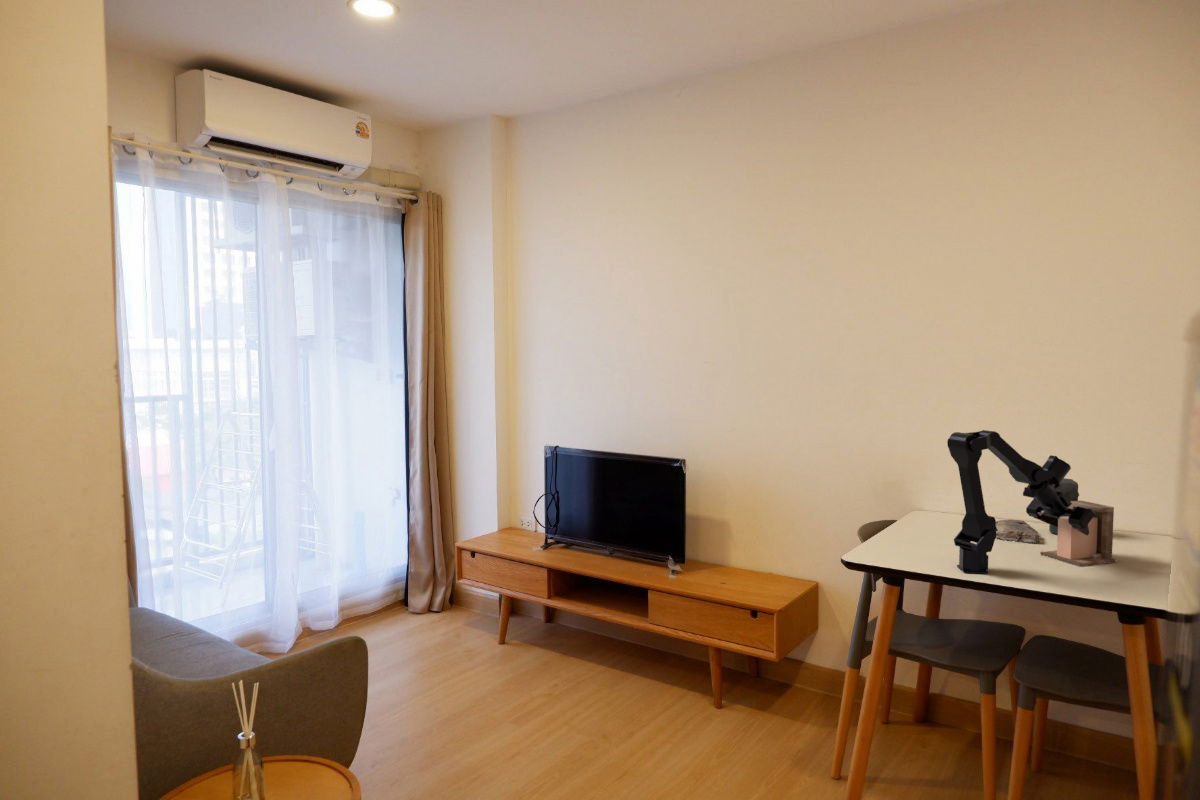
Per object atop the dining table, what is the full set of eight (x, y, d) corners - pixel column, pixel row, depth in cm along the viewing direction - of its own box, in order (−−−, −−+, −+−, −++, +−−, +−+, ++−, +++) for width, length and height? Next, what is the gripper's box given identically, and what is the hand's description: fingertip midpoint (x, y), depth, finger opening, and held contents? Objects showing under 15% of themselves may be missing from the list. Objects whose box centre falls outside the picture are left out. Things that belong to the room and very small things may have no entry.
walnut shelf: (1079, 566, 214) (1081, 511, 213) (1040, 554, 227) (1042, 502, 226) (1115, 562, 219) (1118, 508, 218) (1075, 550, 231) (1077, 499, 230)
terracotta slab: (1070, 559, 219) (1071, 520, 218) (1056, 555, 223) (1058, 517, 222) (1096, 556, 222) (1097, 518, 221) (1082, 552, 226) (1083, 514, 225)
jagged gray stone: (992, 528, 263) (989, 539, 246) (993, 514, 263) (990, 524, 246) (1039, 533, 256) (1039, 545, 239) (1039, 519, 256) (1040, 530, 239)
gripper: (1091, 480, 210) (1119, 516, 214) (1034, 470, 228) (1061, 504, 232) (1068, 510, 208) (1097, 546, 212) (1013, 497, 226) (1040, 531, 230)
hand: (1073, 530), depth 222 cm, fingers open, 9 cm apart
